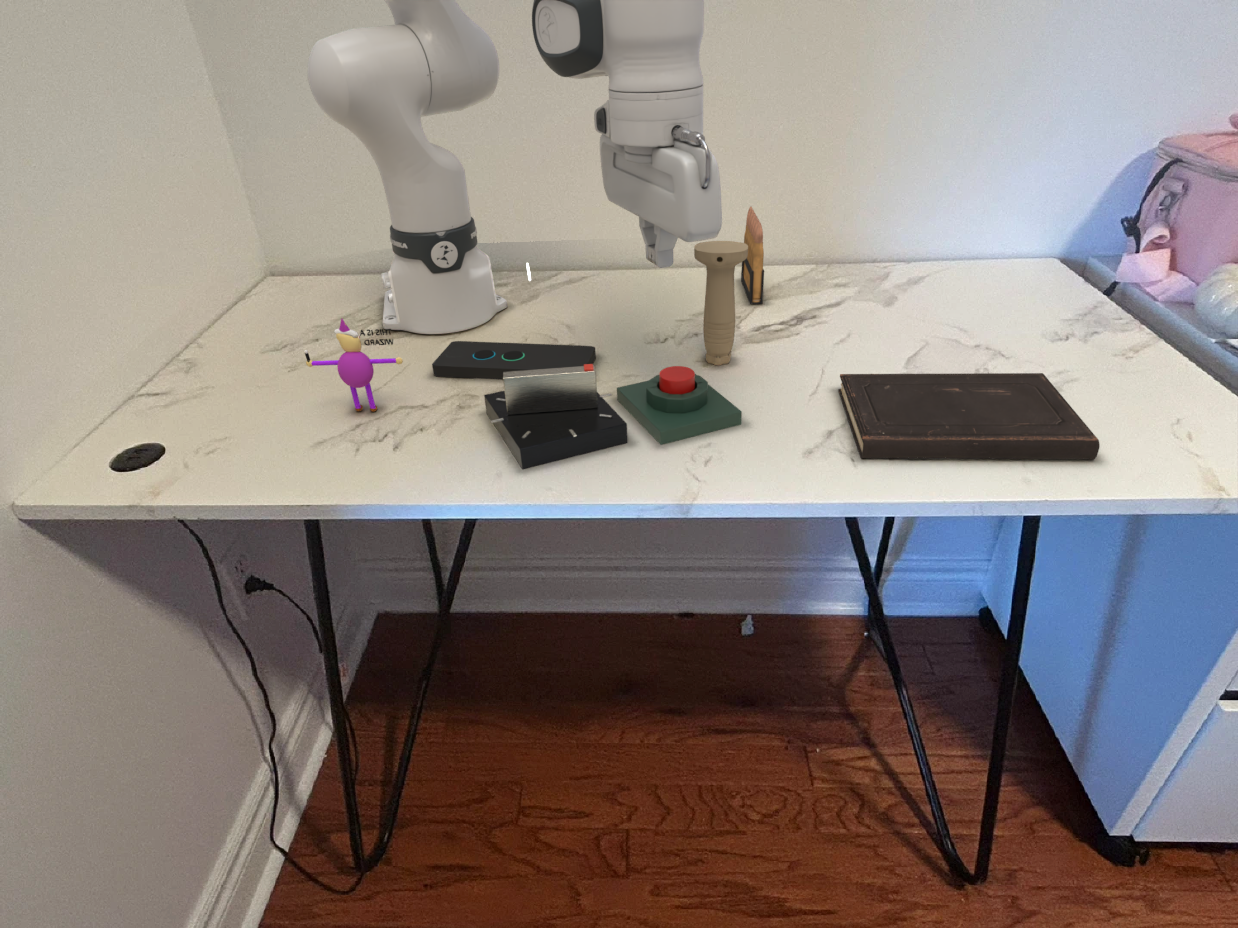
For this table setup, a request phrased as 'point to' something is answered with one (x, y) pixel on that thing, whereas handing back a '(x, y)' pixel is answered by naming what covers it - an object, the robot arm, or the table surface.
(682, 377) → the button
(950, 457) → the hardcover book
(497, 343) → the smart home device
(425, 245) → the robot arm
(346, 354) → the wizard figurine
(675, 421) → the button box
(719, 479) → the table surface
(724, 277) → the handle
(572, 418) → the control panel
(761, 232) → the ammunition clip
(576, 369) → the knob
